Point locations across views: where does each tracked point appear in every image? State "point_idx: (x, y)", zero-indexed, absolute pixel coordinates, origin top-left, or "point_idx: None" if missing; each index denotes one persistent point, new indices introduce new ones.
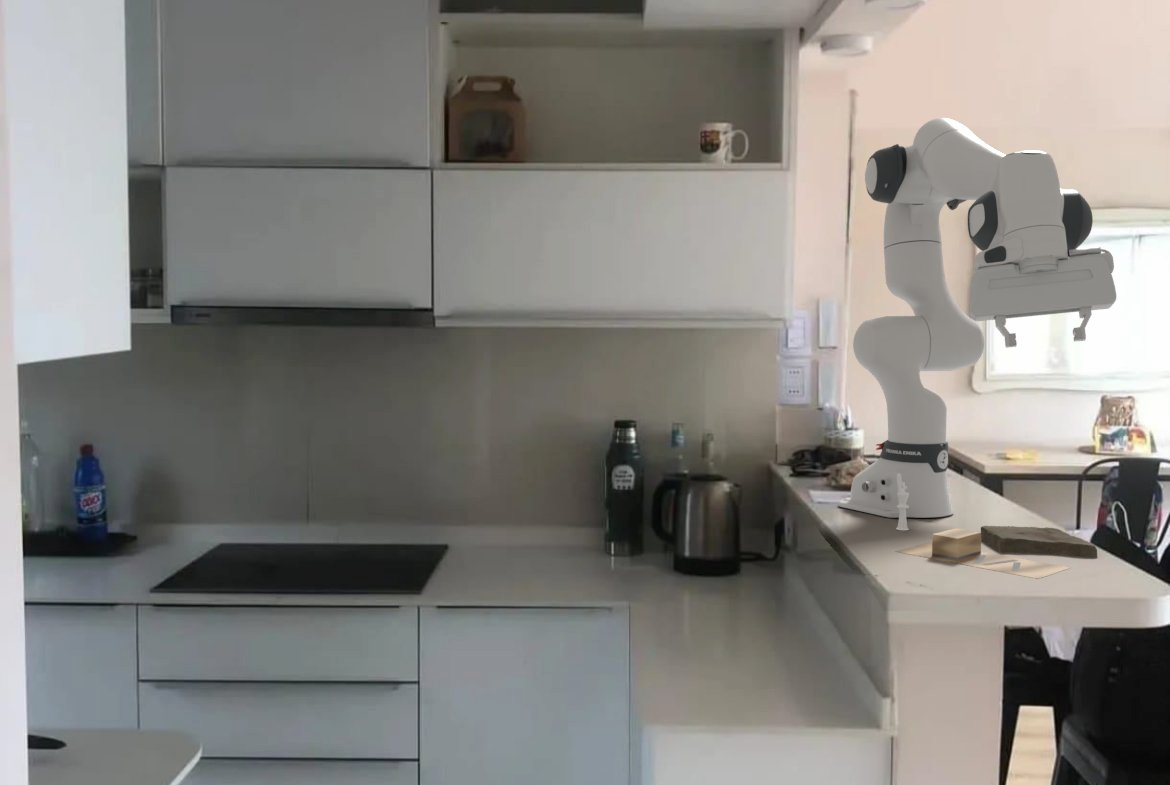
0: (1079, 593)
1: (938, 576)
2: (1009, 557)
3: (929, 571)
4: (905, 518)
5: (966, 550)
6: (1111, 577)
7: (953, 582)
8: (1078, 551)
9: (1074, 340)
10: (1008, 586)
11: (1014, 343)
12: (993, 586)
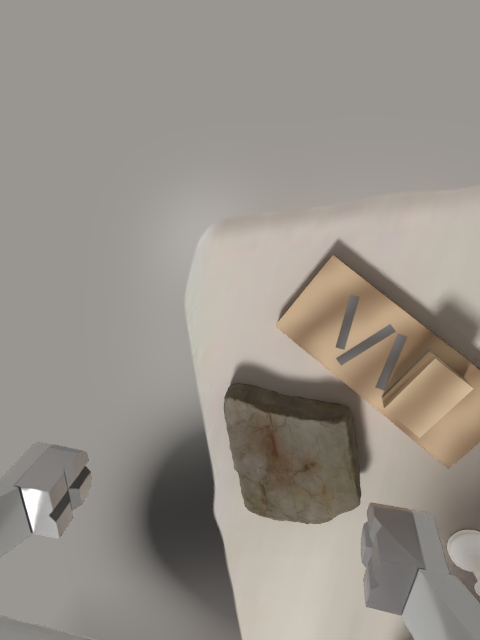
0: (285, 241)
1: (463, 306)
2: (344, 377)
3: (471, 335)
4: (476, 569)
5: (412, 370)
6: (227, 331)
7: (447, 273)
8: (247, 397)
9: (88, 474)
10: (370, 263)
11: (383, 506)
12: (392, 259)
